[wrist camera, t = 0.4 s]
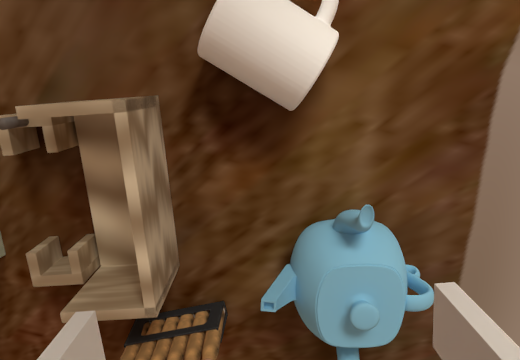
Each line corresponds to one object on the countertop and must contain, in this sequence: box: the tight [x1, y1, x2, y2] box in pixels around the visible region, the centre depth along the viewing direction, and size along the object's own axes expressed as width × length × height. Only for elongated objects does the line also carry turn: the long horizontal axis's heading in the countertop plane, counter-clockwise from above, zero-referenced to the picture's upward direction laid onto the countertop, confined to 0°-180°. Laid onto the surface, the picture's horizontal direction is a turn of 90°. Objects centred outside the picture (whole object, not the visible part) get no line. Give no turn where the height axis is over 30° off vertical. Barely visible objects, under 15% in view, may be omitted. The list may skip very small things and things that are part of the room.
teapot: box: [261, 205, 434, 360], centre depth 38 cm, size 15×14×11 cm
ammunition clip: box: [120, 301, 228, 360], centre depth 39 cm, size 11×2×12 cm, turn 102°
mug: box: [198, 0, 339, 111], centre depth 34 cm, size 12×10×8 cm
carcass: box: [0, 96, 180, 323], centre depth 37 cm, size 19×14×10 cm
